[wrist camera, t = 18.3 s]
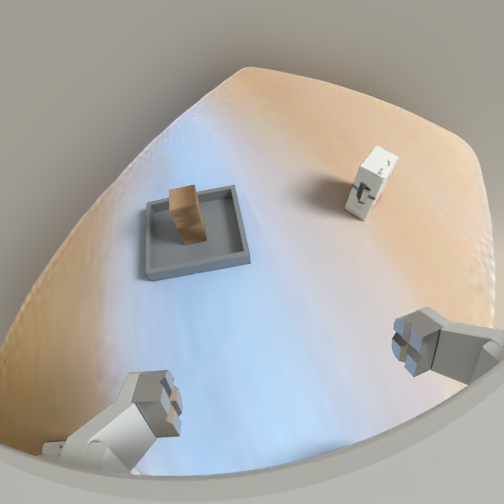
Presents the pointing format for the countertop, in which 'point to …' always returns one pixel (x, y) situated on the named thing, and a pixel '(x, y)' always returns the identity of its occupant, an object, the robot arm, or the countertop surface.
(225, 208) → the tray
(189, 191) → the tan block
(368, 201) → the ink box
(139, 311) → the countertop surface
